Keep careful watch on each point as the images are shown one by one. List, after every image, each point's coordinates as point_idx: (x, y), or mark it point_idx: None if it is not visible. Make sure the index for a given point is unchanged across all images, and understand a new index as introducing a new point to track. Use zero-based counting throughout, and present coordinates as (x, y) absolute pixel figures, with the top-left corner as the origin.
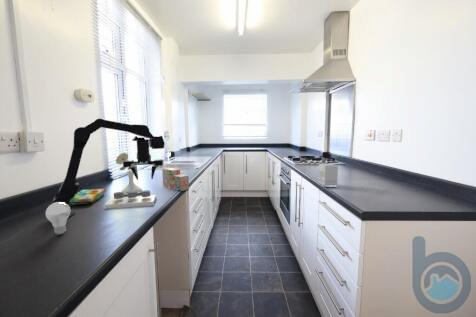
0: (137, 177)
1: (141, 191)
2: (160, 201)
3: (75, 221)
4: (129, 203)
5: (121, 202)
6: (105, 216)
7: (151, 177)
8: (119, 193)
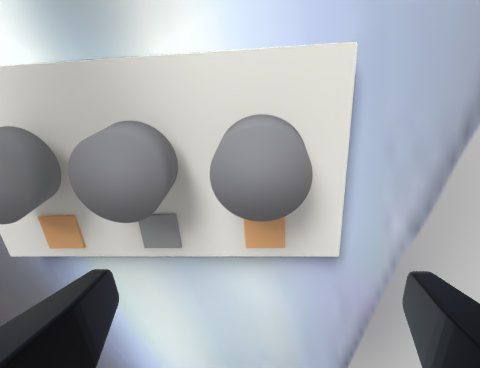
0: (95, 348)
1: (211, 170)
2: (388, 152)
3: None
4: (167, 254)
5: (99, 231)
6: (112, 339)
7: (417, 350)
8: (7, 204)
